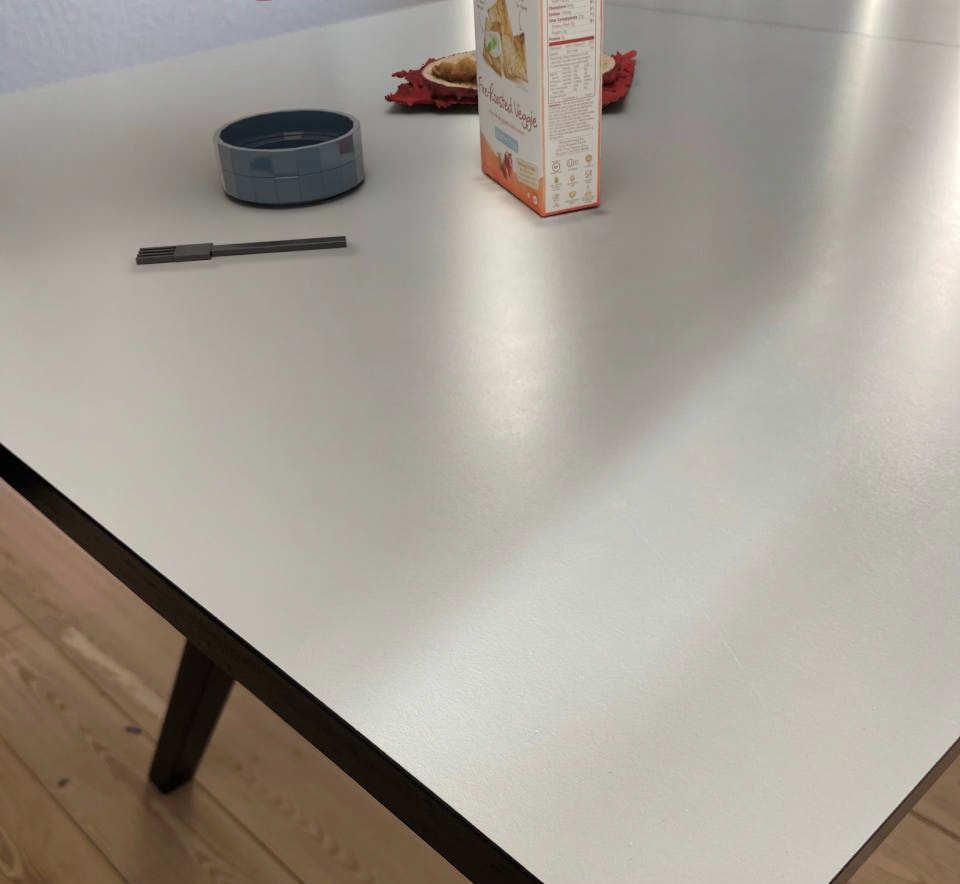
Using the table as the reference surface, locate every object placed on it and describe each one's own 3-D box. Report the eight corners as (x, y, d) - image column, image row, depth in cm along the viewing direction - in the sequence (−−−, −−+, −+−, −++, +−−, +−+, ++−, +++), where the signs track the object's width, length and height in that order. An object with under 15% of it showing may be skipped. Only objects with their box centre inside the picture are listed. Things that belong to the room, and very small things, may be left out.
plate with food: (623, 117, 117) (625, 82, 115) (385, 111, 121) (382, 76, 119) (636, 65, 135) (638, 33, 133) (429, 60, 139) (428, 29, 137)
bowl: (216, 214, 99) (205, 156, 96) (230, 168, 109) (220, 113, 106) (365, 204, 99) (359, 145, 96) (365, 159, 110) (360, 104, 106)
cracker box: (476, 173, 105) (465, -92, 91) (535, 163, 106) (532, -99, 93) (538, 220, 95) (535, -71, 81) (602, 207, 96) (609, -79, 83)
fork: (346, 249, 91) (345, 243, 91) (136, 264, 91) (135, 258, 90) (346, 238, 93) (345, 233, 93) (141, 253, 93) (139, 247, 92)
